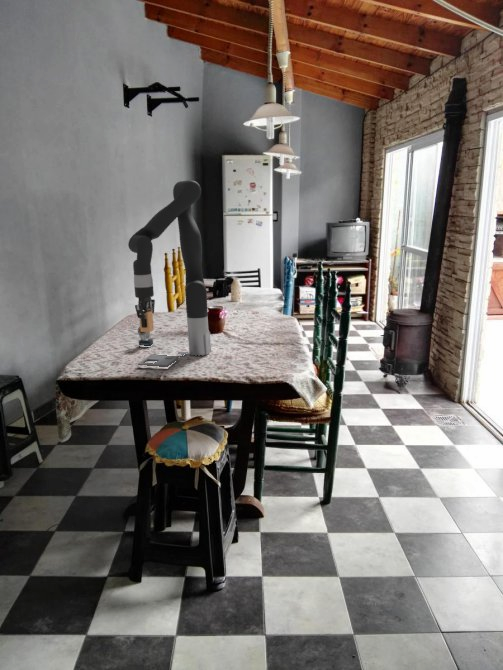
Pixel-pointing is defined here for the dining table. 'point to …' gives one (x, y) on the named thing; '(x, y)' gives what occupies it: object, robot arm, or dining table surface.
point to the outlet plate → (159, 360)
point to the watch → (145, 338)
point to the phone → (182, 353)
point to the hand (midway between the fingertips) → (147, 325)
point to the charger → (148, 323)
